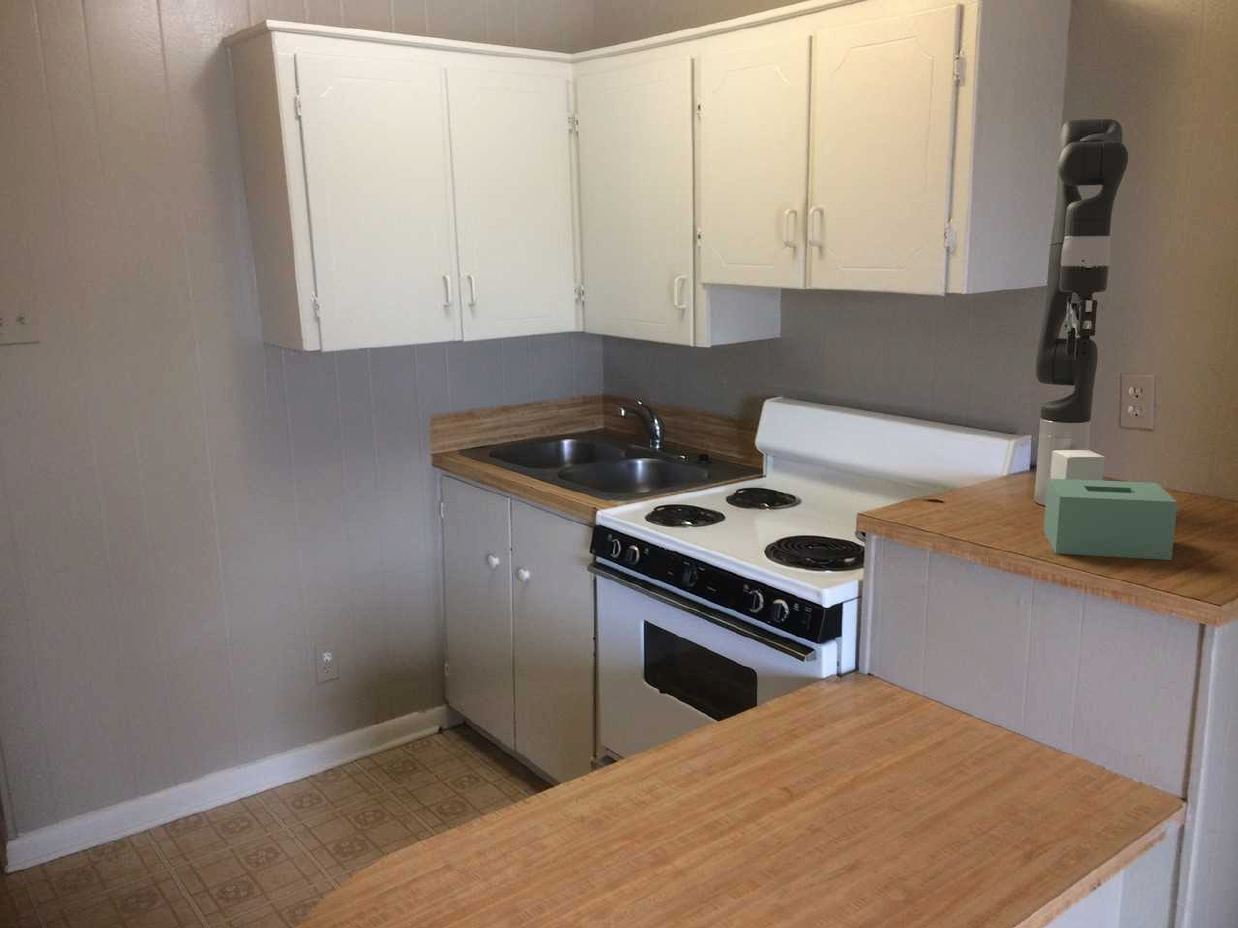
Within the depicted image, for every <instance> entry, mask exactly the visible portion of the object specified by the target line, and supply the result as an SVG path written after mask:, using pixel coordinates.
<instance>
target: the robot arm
mask: <svg viewBox="0 0 1238 928" xmlns="http://www.w3.org/2000/svg"><path fill="white" fill-rule="evenodd" d="M1057 152H1058V155H1057V173H1056V175H1057V176H1056V177H1057V178H1056V179H1057V180H1056V194H1055V195H1056V196H1055V206H1054V207H1055V208H1054V215H1053V216H1054V217H1053V224H1052V230H1051V231H1052V232H1051V239H1050V243H1049V244H1050V245H1049V253H1048V254H1049V255H1048V265H1047V277H1046V278H1047V281H1046V292H1045V304H1044V311H1043V318H1042V322H1041V329H1040V335H1039V341H1038V345H1037V346H1038V347H1037V354H1036V361H1035V362H1036V363H1035V375H1036V379H1037V381H1038V382H1039V383H1041V384H1042V385H1043V384H1045V385H1052V386H1053V385H1054V386H1055V385H1056V386H1072V387H1074V390H1073V392H1072V393H1071V394H1069V395H1068V396H1065V397H1064V398H1059V399H1055V400H1052V401H1048V402H1045V403H1044V404H1042V405H1041V409H1040V419H1039V431H1038V433H1039V436H1038V446H1037V447H1038V448H1037V460H1036V461H1037V463H1036V474H1035V475H1036V476H1035V487H1034V488H1035V489H1034V500H1033V501H1034V502H1035V503H1036V504H1039V505H1041V506H1046V493H1047V480H1048V479H1050V476H1051V462H1052V451H1056V450H1089V443H1090V430H1091V420H1092V419H1091V416H1092V408H1093V407H1092V405H1093V397H1094V396H1093V395H1094V387H1095V380H1096V373H1097V367H1098V355H1099V352H1098V346H1097V343H1096V341H1094V340H1093V337H1094V336H1095V335H1096V321H1097V308H1098V300H1097V299H1093V297H1094V296H1093V294H1094V293H1103V292H1106V291H1107V289H1108V279H1109V267H1110V256H1111V255H1110V254H1111V241H1110V240H1111V239H1110V236H1111V235H1110V234H1111V225H1112V215H1113V208H1114V203H1115V199H1116V196H1117V193H1118V191H1119V187H1120V184H1121V183H1122V180H1123V177H1124V175H1125V172H1126V169H1127V167H1128V163H1129V153H1128V149H1127V147H1126V146H1125V144H1124V143H1123V128H1122V125H1121V123H1120V122H1119V121H1117V120H1115V119H1112V118H1092V119H1071V120H1070V119H1069V120H1067V121H1066V122H1065V123H1064V124H1063V126H1062V127H1061V130H1060V136H1059V142H1058V151H1057ZM1078 186H1079V187H1080V186H1081V187H1082V186H1083V187H1084V186H1102V187H1101V190H1100V191H1099V192H1098V194H1096V195H1095V196H1092V197H1089V198H1086V199H1085V198H1084V199H1083V198H1082V196H1081V194H1080V193H1081V192H1080V191H1079V189H1078ZM1064 321H1065V324H1064ZM1063 325H1064V329H1065V332H1066V334H1067V337H1066V338H1060V332H1061V329H1062V326H1063Z"/></svg>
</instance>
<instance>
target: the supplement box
mask: <svg viewBox="0 0 1238 928" xmlns="http://www.w3.org/2000/svg"><path fill="white" fill-rule="evenodd" d="M1105 462H1106V456H1105V455H1101V454H1098V453H1096V452H1094V451H1092V450H1090V449H1088V450H1056V451H1052V462H1051V476H1050V479H1073V480H1098V481H1104V476H1105V475H1104V474H1105V465H1106V463H1105Z"/></svg>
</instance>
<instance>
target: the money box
mask: <svg viewBox="0 0 1238 928" xmlns="http://www.w3.org/2000/svg"><path fill="white" fill-rule="evenodd" d="M1044 506H1045V505H1044ZM1177 511H1178V501H1177V500H1176V499H1175V498H1174V496H1172V495H1171V494H1170V493H1168V492H1167V490H1165V489H1164V488H1162V487H1161V485H1160V484H1158V483H1157V482H1147V481H1143V482H1141V481H1121V480H1120V481H1119V480H1103V481H1098V480H1073V479H1048V480H1047V493H1046V506H1045V509H1044V518H1043V519H1044V520H1043V521H1044V522H1043V533H1044V535H1045V537H1046V539H1047V540H1048V543H1049V542H1050V543H1049V545H1050V546H1051V548H1052V550H1053V551H1054V553H1055V554H1059V555H1060V554H1061V555H1072V556H1073V555H1075V556H1077V555H1079V556H1091V557H1092V556H1093V557H1109V558H1113V557H1114V558H1128V559H1129V558H1130V559H1143V560H1144V559H1145V560H1146V559H1147V560H1148V559H1149V560H1160V561H1161V560H1163V561H1164V560H1165V561H1169V560H1170V561H1172V559H1173V549H1174V548H1173V547H1174V541H1175V530H1176V522H1177V521H1176V519H1177Z"/></svg>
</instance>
